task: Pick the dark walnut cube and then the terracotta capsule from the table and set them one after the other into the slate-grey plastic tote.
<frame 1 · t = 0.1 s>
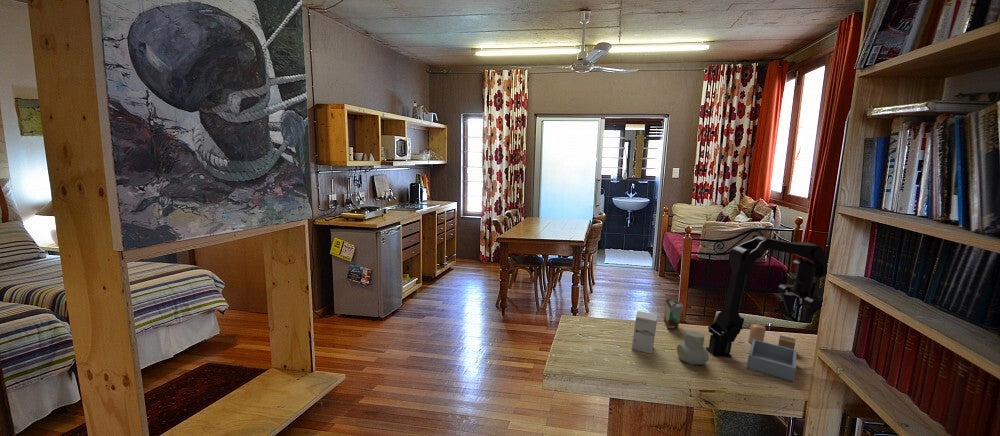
hand: (797, 318, 166), 15 cm above the table, fingers open, 9 cm apart
walnut cube: (785, 351, 171), on the table
terracotta capsule: (755, 343, 177), on the table
supplement box: (642, 348, 165), on the table
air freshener: (691, 361, 157), on the table
food container: (673, 326, 188), on the table
tote: (770, 366, 158), on the table
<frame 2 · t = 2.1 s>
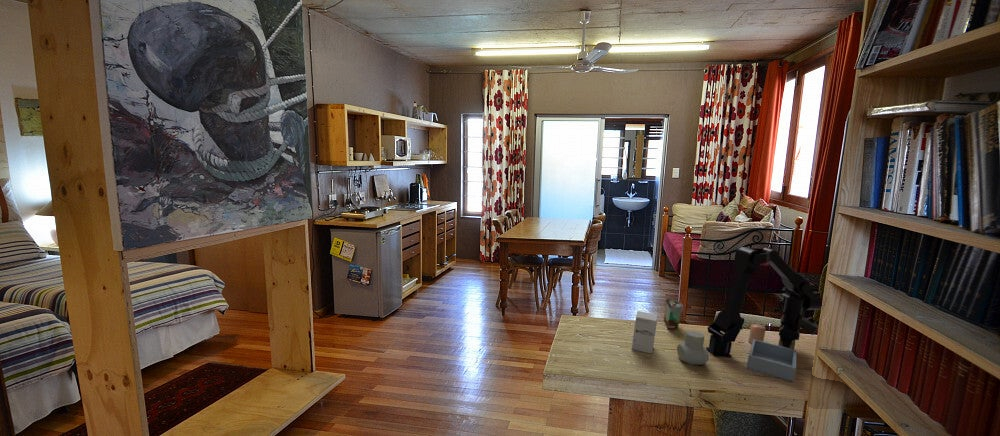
hand: (785, 348, 171), 1 cm above the table, fingers closed on walnut cube, 5 cm apart
walnut cube: (785, 351, 171), on the table, touching gripper
everything else where it was.
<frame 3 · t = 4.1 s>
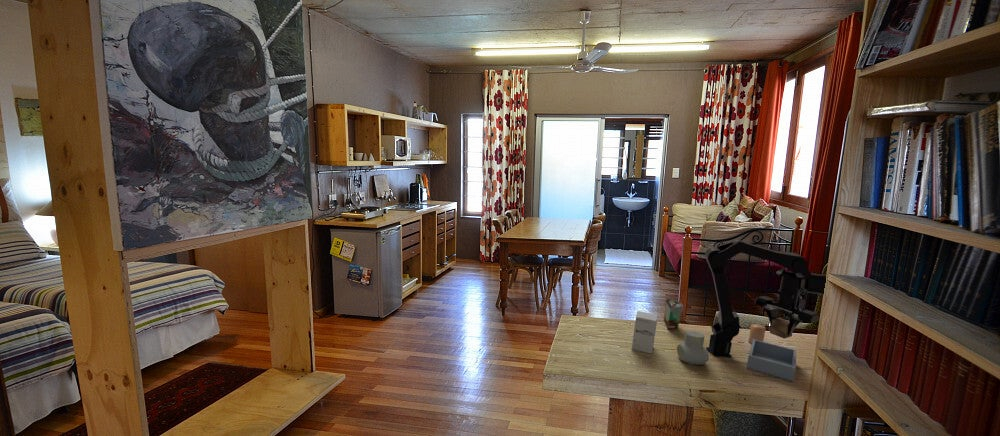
hand: (781, 331, 159), 12 cm above the table, fingers closed on walnut cube, 5 cm apart
walnut cube: (780, 334, 159), point 11 cm above the table, touching gripper
everything else where it was.
when the fingers open (4 cm above the table, at t = 6.2 s): walnut cube drops 3 cm, resting on tote.
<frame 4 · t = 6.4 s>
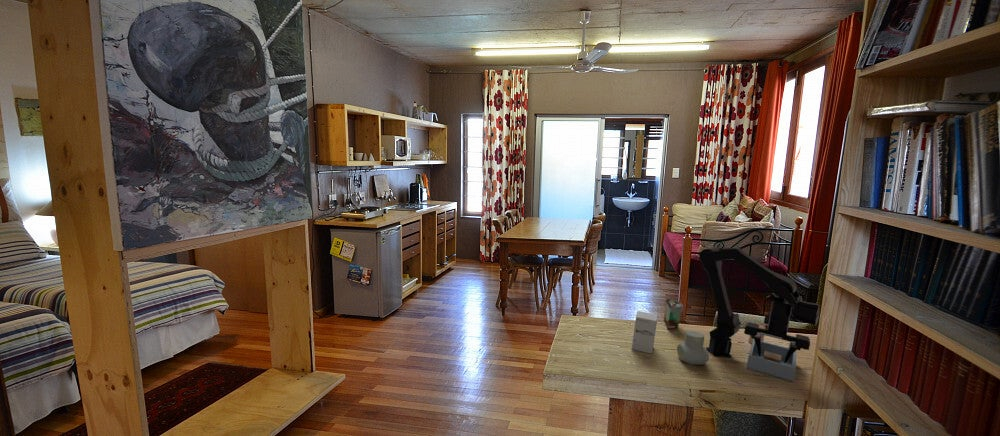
hand: (772, 359, 153), 4 cm above the table, fingers open, 7 cm apart
walnut cube: (770, 369, 154), point 1 cm above the table, touching tote
everything else where it was.
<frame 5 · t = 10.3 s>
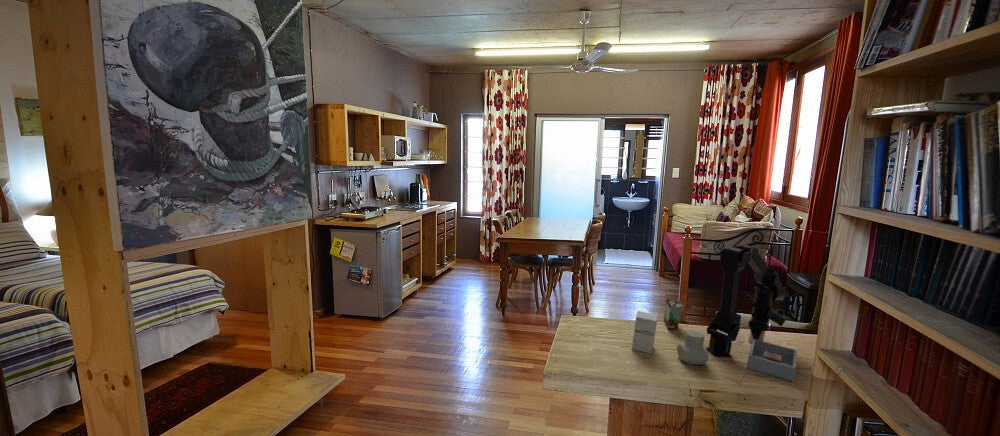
hand: (756, 339, 176), 2 cm above the table, fingers closed on terracotta capsule, 5 cm apart
terracotta capsule: (755, 343, 177), on the table, touching gripper
everything else where it was.
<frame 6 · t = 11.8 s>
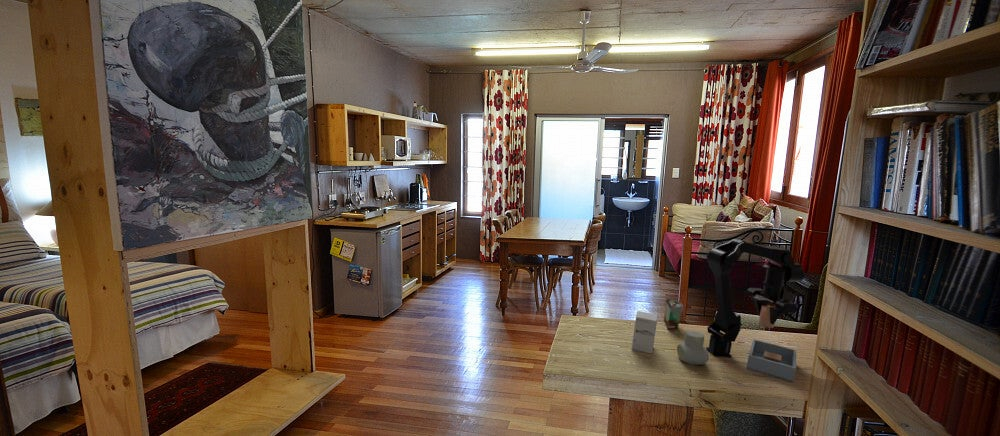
hand: (766, 321, 168), 12 cm above the table, fingers closed on terracotta capsule, 5 cm apart
terracotta capsule: (766, 325, 169), point 10 cm above the table, touching gripper
everything else where it was.
when the fingers open (5 cm above the table, at t = 13.7 s): terracotta capsule drops 3 cm, resting on tote.
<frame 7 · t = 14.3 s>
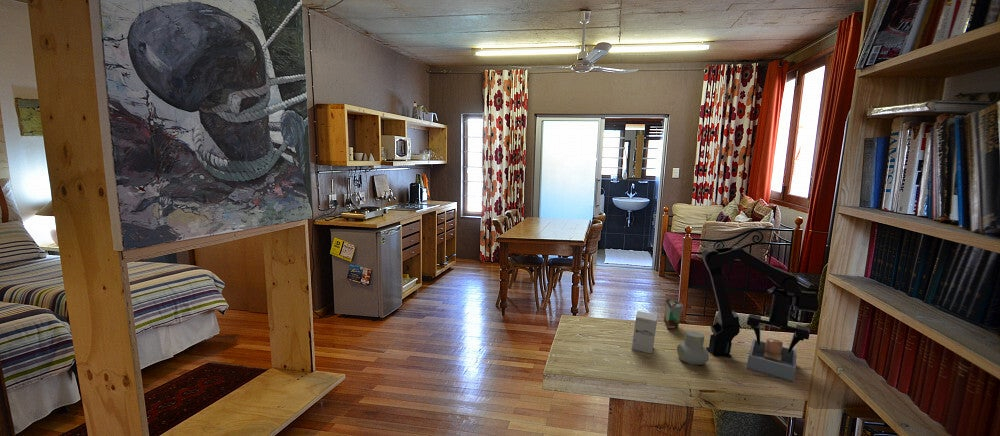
hand: (773, 348, 161), 5 cm above the table, fingers open, 9 cm apart
terracotta capsule: (771, 359, 161), point 1 cm above the table, touching tote
everything else where it was.
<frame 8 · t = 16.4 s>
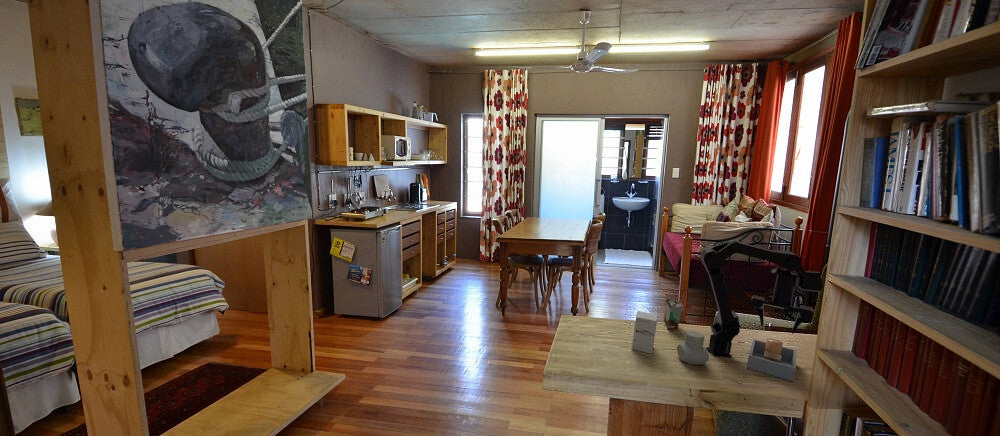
hand: (777, 329, 160), 12 cm above the table, fingers open, 9 cm apart
nothing on the table moved.
at the end: walnut cube 4.4 cm from the tote (horizontally); terracotta capsule 4.6 cm from the tote (horizontally); terracotta capsule point 0.6 cm above the table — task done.
